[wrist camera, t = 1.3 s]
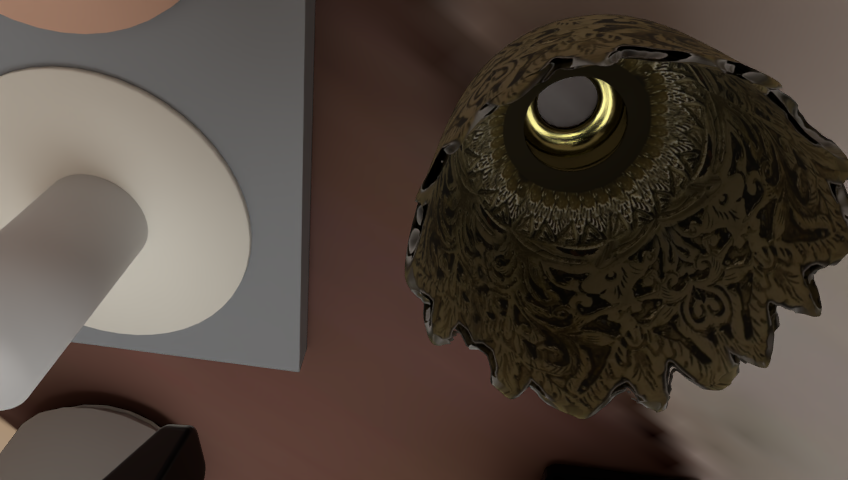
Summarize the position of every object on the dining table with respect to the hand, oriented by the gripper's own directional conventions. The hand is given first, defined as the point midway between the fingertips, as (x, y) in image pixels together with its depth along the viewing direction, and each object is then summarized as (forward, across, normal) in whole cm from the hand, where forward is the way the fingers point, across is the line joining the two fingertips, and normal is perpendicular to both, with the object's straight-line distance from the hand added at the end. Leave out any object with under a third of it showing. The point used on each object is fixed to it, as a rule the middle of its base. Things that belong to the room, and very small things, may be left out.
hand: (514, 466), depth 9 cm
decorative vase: (+12, -2, -1) cm, 12 cm away
